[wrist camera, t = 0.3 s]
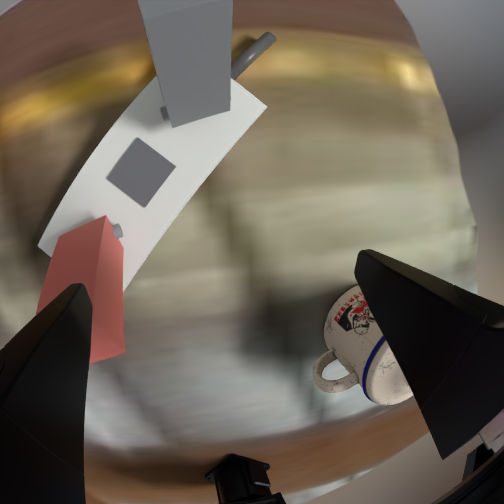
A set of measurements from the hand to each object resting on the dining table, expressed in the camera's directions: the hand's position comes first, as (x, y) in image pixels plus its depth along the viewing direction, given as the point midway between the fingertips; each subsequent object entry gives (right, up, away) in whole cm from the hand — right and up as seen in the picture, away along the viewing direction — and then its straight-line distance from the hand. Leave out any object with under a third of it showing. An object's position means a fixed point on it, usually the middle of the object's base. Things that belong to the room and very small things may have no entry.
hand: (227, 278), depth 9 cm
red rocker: (-11, +1, +10) cm, 14 cm away
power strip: (-6, +9, +13) cm, 17 cm away
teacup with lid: (+11, -7, +20) cm, 24 cm away
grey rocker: (-3, +11, +9) cm, 15 cm away
